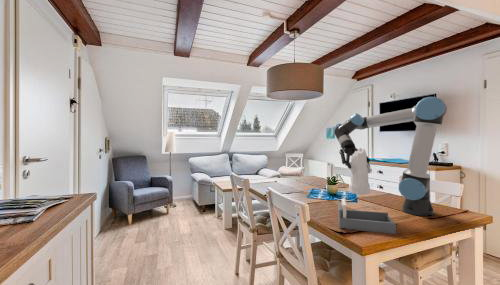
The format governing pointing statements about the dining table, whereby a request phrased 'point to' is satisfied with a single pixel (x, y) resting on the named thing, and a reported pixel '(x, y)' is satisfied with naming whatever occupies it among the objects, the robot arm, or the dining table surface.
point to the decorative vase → (359, 173)
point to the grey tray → (366, 221)
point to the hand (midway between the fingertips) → (362, 172)
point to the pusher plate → (343, 208)
